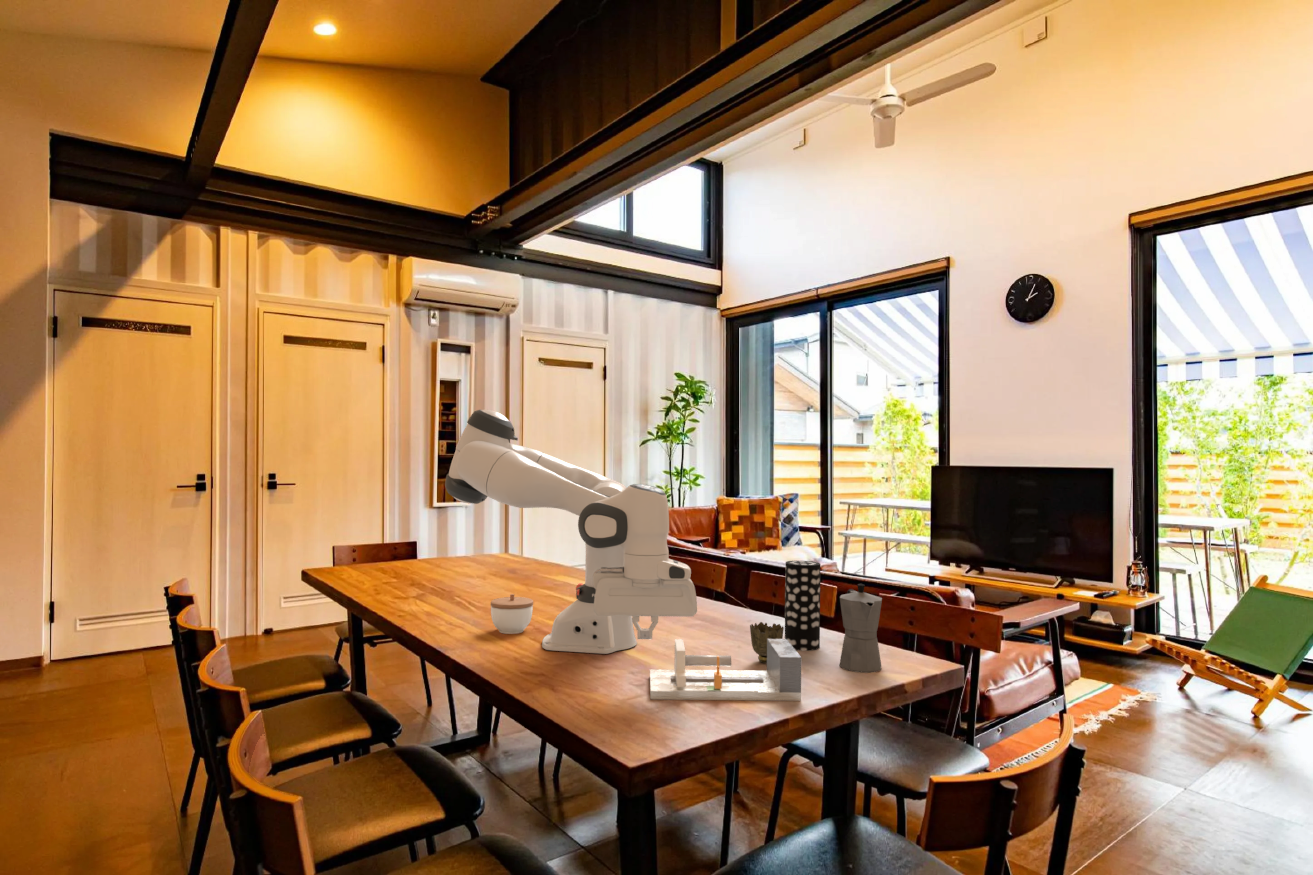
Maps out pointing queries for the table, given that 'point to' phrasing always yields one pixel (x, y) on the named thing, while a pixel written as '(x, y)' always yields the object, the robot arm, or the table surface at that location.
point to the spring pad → (693, 662)
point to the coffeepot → (860, 631)
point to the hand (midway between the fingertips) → (644, 638)
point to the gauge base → (737, 680)
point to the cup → (764, 638)
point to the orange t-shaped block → (717, 677)
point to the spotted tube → (802, 604)
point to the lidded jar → (511, 614)
